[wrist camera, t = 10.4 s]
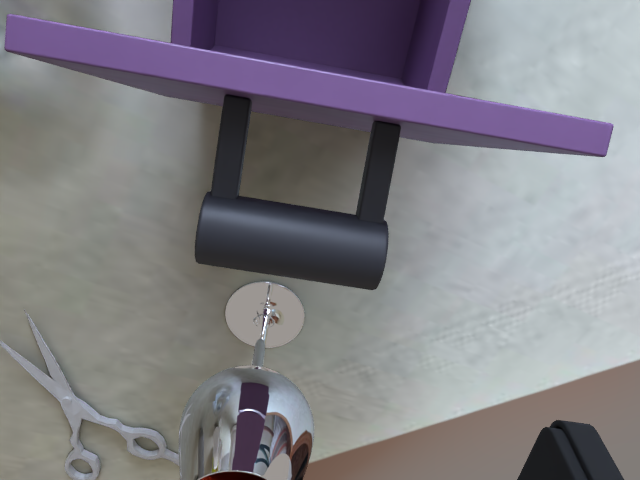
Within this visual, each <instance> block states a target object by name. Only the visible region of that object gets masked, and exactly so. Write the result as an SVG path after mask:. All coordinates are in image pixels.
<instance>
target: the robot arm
mask: <svg viewBox="0 0 640 480" xmlns="http://www.w3.org/2000/svg"><path fill="white" fill-rule="evenodd" d="M517 480H624V479H623V477H622V475H621V473H620V472H619V470H618V468H617V466H616V465H615V463H614V461H613V459H612V457H611V456H610V454H609V452H608V450H607V448H606V447H605V445H604V443H603V442H602V440H601V438H600V436H599V434H598V432H597V431H596V430H595V428H594V427H593V426H591V425H590V424H584V423H576V422H568V421H561V420H556V421H554V422H553V423H552V424H551V426H550V427H545V428H543V429H542V430H541V432H540V434H539V436H538V438H537V440H536V442H535V444H534V446H533V448H532V450H531V452H530V455H529V457H528V459H527V461H526V463H525V465H524V467H523V469H522V471H521V473H520V475H519V477H518V479H517Z"/></svg>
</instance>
